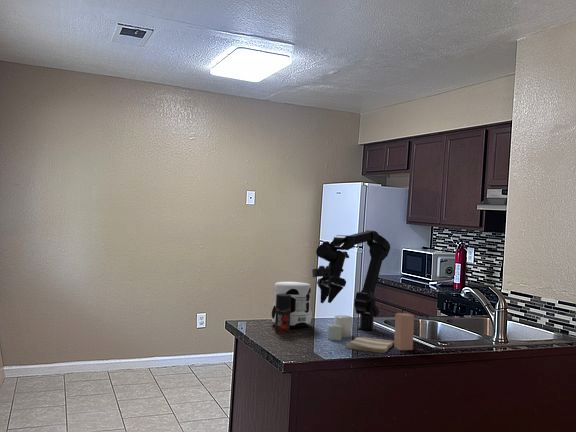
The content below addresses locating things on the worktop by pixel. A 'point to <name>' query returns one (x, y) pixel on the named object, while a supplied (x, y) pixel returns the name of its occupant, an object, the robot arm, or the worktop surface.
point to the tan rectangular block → (404, 331)
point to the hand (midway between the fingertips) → (325, 302)
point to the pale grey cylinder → (344, 324)
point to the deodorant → (282, 313)
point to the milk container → (295, 302)
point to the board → (370, 344)
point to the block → (334, 332)
